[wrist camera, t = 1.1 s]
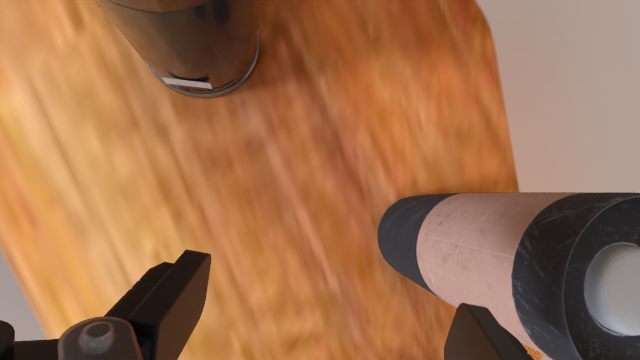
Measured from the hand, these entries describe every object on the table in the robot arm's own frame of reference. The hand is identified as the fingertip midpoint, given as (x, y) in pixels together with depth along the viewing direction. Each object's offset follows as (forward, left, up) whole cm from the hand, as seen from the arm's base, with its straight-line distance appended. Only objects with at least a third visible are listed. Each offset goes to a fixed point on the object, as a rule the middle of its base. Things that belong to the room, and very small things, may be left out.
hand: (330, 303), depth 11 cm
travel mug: (+2, +11, -20) cm, 23 cm away
